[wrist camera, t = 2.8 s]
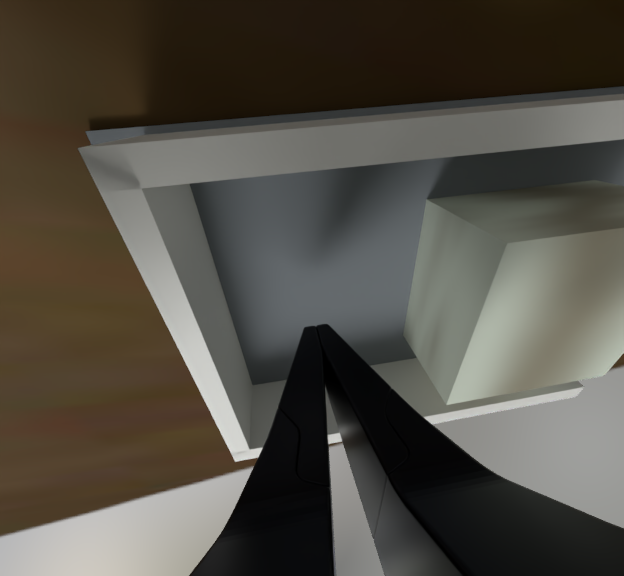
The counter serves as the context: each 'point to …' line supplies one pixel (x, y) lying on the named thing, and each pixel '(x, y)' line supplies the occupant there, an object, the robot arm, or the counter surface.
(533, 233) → the sage block
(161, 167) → the cubby
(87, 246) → the counter surface
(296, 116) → the mat
